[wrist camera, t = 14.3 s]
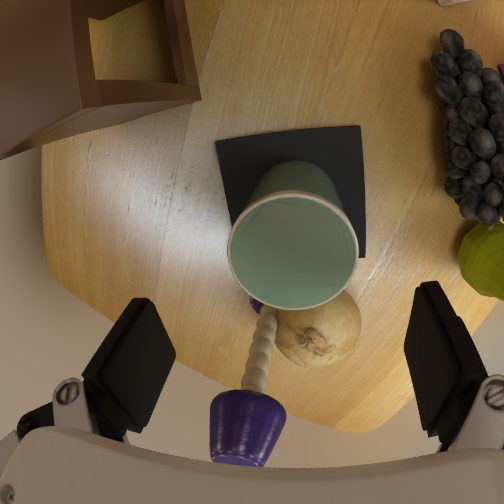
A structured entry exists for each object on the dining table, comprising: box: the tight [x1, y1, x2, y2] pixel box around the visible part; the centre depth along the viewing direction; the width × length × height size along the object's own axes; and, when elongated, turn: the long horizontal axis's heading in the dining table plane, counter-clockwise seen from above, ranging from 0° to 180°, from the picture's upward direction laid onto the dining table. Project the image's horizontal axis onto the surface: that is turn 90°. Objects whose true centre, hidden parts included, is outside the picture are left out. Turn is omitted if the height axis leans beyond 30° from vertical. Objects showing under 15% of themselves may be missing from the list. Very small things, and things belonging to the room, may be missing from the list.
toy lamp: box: [210, 296, 286, 467], centre depth 20 cm, size 5×5×17 cm
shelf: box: [0, 0, 202, 160], centre depth 12 cm, size 12×8×14 cm, turn 9°
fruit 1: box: [430, 29, 504, 231], centre depth 14 cm, size 9×8×15 cm
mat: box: [215, 126, 366, 258], centre depth 23 cm, size 11×11×1 cm
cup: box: [227, 160, 359, 310], centre depth 19 cm, size 7×7×9 cm
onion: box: [275, 290, 361, 367], centre depth 25 cm, size 8×8×7 cm
